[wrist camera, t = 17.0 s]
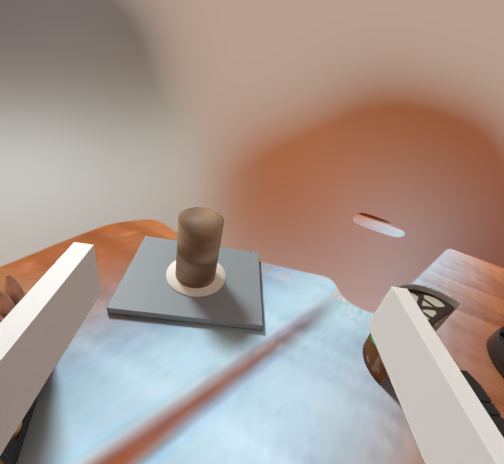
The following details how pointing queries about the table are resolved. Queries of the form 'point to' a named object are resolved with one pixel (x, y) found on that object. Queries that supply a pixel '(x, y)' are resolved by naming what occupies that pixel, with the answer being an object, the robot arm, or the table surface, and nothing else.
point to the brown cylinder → (198, 246)
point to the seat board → (190, 299)
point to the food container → (435, 312)
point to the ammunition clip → (3, 305)
